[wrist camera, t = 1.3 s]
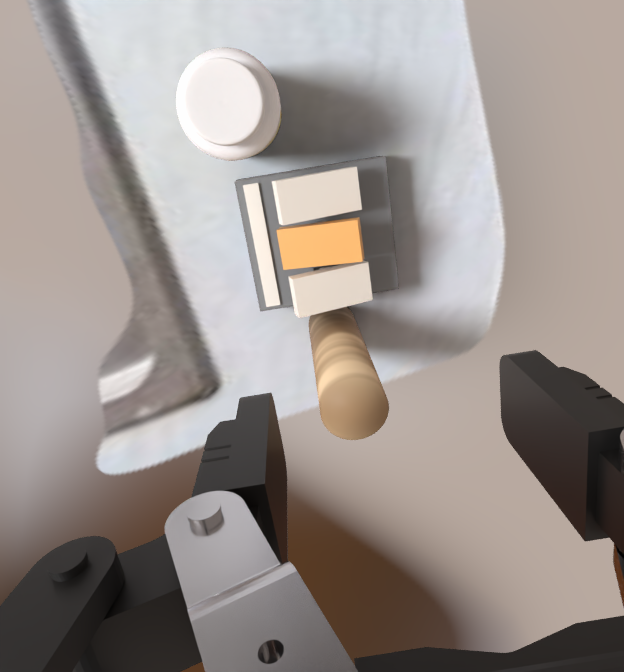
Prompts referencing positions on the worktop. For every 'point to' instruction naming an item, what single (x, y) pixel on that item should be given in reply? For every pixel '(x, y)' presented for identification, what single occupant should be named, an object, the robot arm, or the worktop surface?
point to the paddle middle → (321, 243)
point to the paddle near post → (330, 288)
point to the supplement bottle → (228, 104)
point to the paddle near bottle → (317, 195)
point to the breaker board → (264, 222)
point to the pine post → (345, 377)
